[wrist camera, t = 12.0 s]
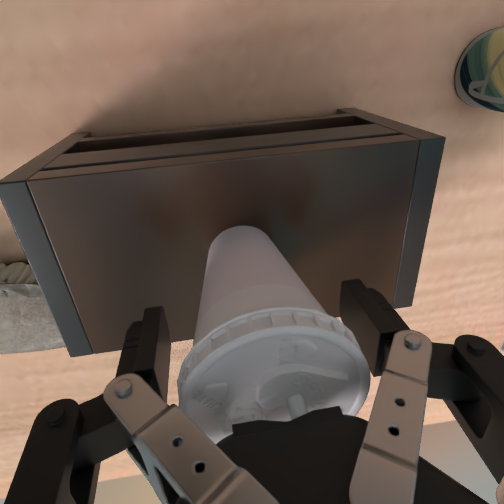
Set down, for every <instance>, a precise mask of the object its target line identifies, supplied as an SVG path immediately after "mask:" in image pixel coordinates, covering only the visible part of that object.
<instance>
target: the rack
mask: <svg viewBox="0 0 504 504" xmlns="http://www.w3.org/2000/svg"><path fill="white" fill-rule="evenodd" d="M445 139H446V138H445V137H443V136H440V135H437V134H434V133H431V132H428V131H425V130H422V129H418V128H415V127H412V126H409V125H406V124H403V123H400V122H397V121H394V120H390V119H387V118H384V117H381V116H378V115H375V114H372V113H369V112H366V111H362V110H359V109H356V108H343V109H337V114H335V115H325V116H314V117H303V118H293V119H282V120H271V121H261V122H250V123H239V124H229V125H218V126H207V127H197V128H186V129H175V130H165V131H154V132H143V133H133V134H122V135H111V136H101V137H92V136H91V133H90V132H84V133H73V134H71V135H69V136H68V137H66V138H65V139H63V140H62V141H60V142H59V143H57V144H55V145H54V146H52V147H51V148H49V149H48V150H46V151H45V152H43V153H41V154H40V155H38V156H37V157H35V158H34V159H32V160H31V161H29V162H28V163H26V164H24V165H23V166H21V167H20V168H18V169H17V170H15V171H14V172H12V173H11V174H9V175H7V176H6V177H4V178H3V179H1V180H0V199H1V201H2V203H3V206H4V208H5V210H6V212H7V215H8V217H9V219H10V221H11V224H12V226H13V228H14V230H15V233H16V235H17V237H18V239H19V242H20V244H21V246H22V248H23V251H24V253H25V255H26V257H27V260H28V262H29V264H30V266H31V269H32V271H33V273H34V276H35V278H36V280H37V282H38V285H39V287H40V289H41V291H42V294H43V296H44V298H45V300H46V303H47V305H48V307H49V309H50V312H51V314H52V316H53V318H54V321H55V323H56V325H57V327H58V330H59V332H60V334H61V336H62V339H63V341H64V343H65V346H66V348H67V350H68V352H69V355H70V357H77V356H84V355H90V354H98V353H104V352H111V351H117V350H123V344H124V342H125V336H126V331H127V330H128V328H129V327H130V326H131V324H132V323H133V322H135V321H142V320H143V315H144V310H145V308H150V307H157V306H163V307H164V311H165V315H166V319H167V324H168V328H169V332H170V338H171V342H177V341H184V340H190V339H194V335H195V331H196V325H197V319H198V313H199V307H200V301H201V295H202V289H203V283H204V277H205V271H206V265H207V259H208V253H209V249H210V246H211V244H212V242H213V241H214V239H215V238H216V237H217V236H218V235H219V234H220V233H222V232H223V231H225V230H227V229H229V228H231V227H235V226H252V227H255V228H258V229H260V230H261V231H263V232H264V233H265V234H266V235H267V236H268V237H269V238H270V239H271V241H272V242H273V243H274V245H275V246H276V247H277V249H278V250H279V251H280V253H281V254H282V255H283V257H284V258H285V259H286V261H287V262H288V263H289V265H290V266H291V267H292V269H293V270H294V271H295V272H296V274H297V275H298V276H299V278H300V279H301V280H302V282H303V283H304V284H305V286H306V287H307V288H308V290H309V291H310V292H311V294H312V295H313V296H314V298H315V299H316V300H317V301H318V302H319V304H320V305H321V306H322V308H323V309H324V310H325V312H326V313H327V314H328V315H330V316H332V317H335V318H336V317H341V316H340V311H339V305H340V292H341V283H342V281H345V280H352V279H360V280H361V281H362V282H363V284H364V285H365V286H366V288H373V289H375V290H377V291H378V292H380V293H381V294H382V295H383V296H384V297H385V298H386V300H387V301H388V303H390V305H391V306H392V307H393V309H396V308H403V307H410V306H412V302H413V297H414V292H415V287H416V282H417V278H418V273H419V268H420V263H421V258H422V253H423V248H424V243H425V238H426V233H427V228H428V223H429V218H430V213H431V208H432V203H433V198H434V193H435V188H436V183H437V178H438V173H439V168H440V163H441V159H442V154H443V149H444V144H445Z"/></svg>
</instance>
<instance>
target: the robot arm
mask: <svg viewBox="0 0 504 504" xmlns="http://www.w3.org/2000/svg"><path fill="white" fill-rule="evenodd" d="M339 311H340V316H341V320H342V322H343V324H344V325H345V326H346V327H347V328H348V329H349V330H351V331H352V333H353V335H354V337H355V338H356V340H357V342H358V344H359V346H360V349H361V351H362V353H363V355H364V357H365V358H366V360H367V363H368V365H369V370H370V371H371V373H372V375H373V377H376V376H381V380H380V383H379V387H378V390H377V394H376V397H375V401H374V404H373V408H372V412H371V415H370V419H369V422H368V421H366V420H364V419H361V418H359V417H355V416H351V415H345V414H343V413H342V411H341V409H340V406H335V407H329V408H323V409H318V410H313V411H311V412H308V413H306V414H304V415H302V416H300V417H297V418H295V419H293V420H291V421H287V422H284V421H269V420H255V421H250V422H244V423H238V424H233V425H232V431H233V434H231V435H229V436H227V437H225V438H223V439H222V440H221V441H219V442H218V443H217V444H215V443H214V442H213V441H212V440H211V439H210V438H209V437H208V436H207V435H206V434H205V433H204V432H203V431H202V430H201V429H200V428H199V427H198V426H197V425H196V424H195V423H194V422H193V421H192V420H191V419H190V418H189V417H188V416H187V415H186V414H185V413H184V412H183V411H182V410H181V409H180V408H179V407H178V406H177V405H175V404H172V405H171V406H169V405H168V404H167V393H168V379H169V365H170V352H171V338H170V332H169V328H168V324H167V319H166V315H165V311H164V307H163V306H157V307H150V308H145V310H144V315H143V320H142V321H135V322H133V323H132V324H131V326H130V327H129V328H128V330H127V331H126V336H125V342H124V344H123V350H122V352H121V357H120V361H119V365H118V369H117V373H116V377H115V378H114V379H113V380H112V381H111V382H110V383H109V384H108V385H107V386H106V388H105V390H104V393H103V394H101V395H99V396H98V397H96V398H93V399H91V400H89V401H86V402H84V403H82V404H79V405H78V404H77V402H76V401H74V400H72V399H61V400H57V401H55V402H53V403H51V404H49V405H48V406H46V407H45V408H44V409H43V410H42V411H41V412H40V413H39V414H38V415H37V417H36V419H35V421H34V423H33V426H32V429H31V431H30V434H29V437H28V440H27V442H26V445H25V448H24V451H23V453H22V456H21V459H20V461H19V464H18V467H17V470H16V472H15V475H14V478H13V481H12V483H11V486H10V489H9V491H8V494H7V497H6V500H5V502H4V504H94V499H95V493H96V487H97V481H98V475H99V469H100V463H101V461H103V460H105V459H107V458H109V457H111V456H113V455H115V454H117V453H119V452H121V451H123V450H126V451H127V453H128V454H129V455H130V457H131V458H132V459H133V461H134V462H135V463H136V465H137V466H138V468H139V469H140V470H141V472H142V473H143V474H144V476H145V477H146V478H147V480H148V481H149V483H150V484H151V486H152V487H153V489H154V491H155V493H156V494H157V496H158V498H159V500H160V501H161V503H162V504H489V503H487V502H486V501H485V500H483V499H481V498H480V497H479V496H477V495H476V494H474V493H473V492H471V491H470V490H468V489H467V488H465V487H464V486H463V485H461V484H460V483H458V482H457V481H455V480H454V479H452V478H451V477H450V476H448V475H446V474H445V473H443V472H442V471H441V470H439V469H438V468H436V467H435V466H433V465H432V464H430V463H429V462H428V461H426V460H425V459H423V458H422V457H420V456H419V450H420V443H421V435H422V428H423V421H424V414H425V407H426V400H427V397H428V398H436V399H443V400H444V402H445V403H446V405H447V406H448V408H449V409H450V411H451V412H452V414H453V415H454V417H455V419H456V420H457V422H458V423H459V424H460V426H461V428H462V429H463V431H464V432H465V434H466V435H467V437H468V438H469V440H470V441H471V443H472V444H473V446H474V447H475V449H476V451H477V452H478V453H479V455H480V457H481V458H482V460H483V461H484V463H485V464H486V466H487V467H488V469H489V470H490V472H491V473H492V475H493V476H494V478H495V479H496V481H497V482H498V484H499V486H498V488H497V490H496V499H497V502H498V504H504V356H503V355H502V354H501V353H500V352H499V351H498V350H497V349H496V348H495V346H494V345H492V344H491V343H490V342H489V341H487V340H485V339H483V338H481V337H478V336H474V335H461V336H459V337H457V338H456V340H455V343H454V345H453V344H442V343H433V342H431V341H430V339H429V338H428V337H427V336H425V335H424V334H422V333H420V332H417V331H414V330H410V328H409V327H408V326H407V325H406V323H405V322H404V321H403V320H402V318H401V317H400V316H399V315H398V313H397V312H396V311H395V310H394V309H393V307H392V306H391V305H390V303H388V301H387V300H386V298H385V297H384V296H383V295H382V294H381V293H380V292H378V291H377V290H375V289H373V288H366V286H365V285H364V284H363V282H362V281H361V280H360V279H352V280H345V281H342V283H341V292H340V305H339Z"/></svg>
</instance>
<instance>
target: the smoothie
mask: <svg viewBox="0 0 504 504" xmlns="http://www.w3.org/2000/svg"><path fill="white" fill-rule="evenodd" d="M370 379H371V378H370V370H369V365H368V363H367V360H366V358H365V357H364V355H363V353H362V351H361V349H360V346H359V344H358V342H357V340H356V338H355V337H354V335H353V333H352V331H351V330H349V329H348V328H347V327H346V326H345V325H344V324H343V323H341V322H340V321H339V320H338V319H337V318H335V317H332V316H330V315H328V314H327V313H326V312H325V310H324V309H323V308H322V306H321V305H320V304H319V302H318V301H317V300H316V299H315V298H314V296H313V295H312V294H311V292H310V291H309V290H308V288H307V287H306V286H305V284H304V283H303V282H302V280H301V279H300V278H299V276H298V275H297V274H296V272H295V271H294V270H293V269H292V267H291V266H290V265H289V263H288V262H287V261H286V259H285V258H284V257H283V255H282V254H281V253H280V251H279V250H278V249H277V247H276V246H275V245H274V243H273V242H272V241H271V239H270V238H269V237H268V236H267V235H266V234H265V233H264V232H263V231H261V230H260V229H258V228H255V227H252V226H235V227H231V228H229V229H227V230H225V231H223V232H222V233H220V234H219V235H218V236H217V237H216V238H215V239H214V241H213V242H212V244H211V246H210V249H209V253H208V259H207V265H206V271H205V277H204V283H203V289H202V295H201V301H200V307H199V313H198V319H197V325H196V331H195V335H194V341H193V348H192V349H191V351H190V352H189V354H188V355H187V357H186V358H185V359H184V361H183V362H182V366H181V369H180V373H179V377H178V380H177V386H178V395H179V408H180V409H181V410H182V411H183V412H184V413H185V414H186V415H187V416H188V417H189V418H190V419H191V420H192V421H193V422H194V423H195V424H196V425H197V426H198V427H199V428H200V429H201V430H202V431H203V432H204V433H205V434H206V435H207V436H208V437H209V438H210V439H211V440H212V441H213V442H214V443H215V444H217V443H218V442H219V441H221V440H222V439H223V438H225V437H227V436H229V435H231V434H233V431H232V425H233V424H238V423H244V422H250V421H255V420H269V421H284V422H287V421H291V420H293V419H295V418H297V417H300V416H302V415H304V414H306V413H308V412H311V411H313V410H318V409H323V408H329V407H335V406H340V409H341V411H342V413H343V414H345V415H351V416H356V415H357V413H358V412H359V410H360V409H361V407H362V406H363V404H364V402H365V400H366V398H367V395H368V392H369V387H370Z"/></svg>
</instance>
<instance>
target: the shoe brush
mask: <svg viewBox="0 0 504 504" xmlns="http://www.w3.org/2000/svg"><path fill="white" fill-rule="evenodd" d="M62 347H66V346H65V343H64V341H63V339H62V336H61V334H60V332H59V330H58V327H57V325H56V323H55V321H54V318H53V316H52V314H51V312H50V309H49V307H48V305H47V303H46V300H45V298H44V296H43V294H42V291H41V289H40V287H39V285H38V282H37V280H36V278H35V276H34V273H33V271H32V269H31V266H30V264H28V265H27V264H25V263H23V262H17V263H12V264H11V265H9V266H7V265H5V264H4V263H2V264H0V354H10V353H23V352H34V351H42V350H50V349H56V348H62Z"/></svg>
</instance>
